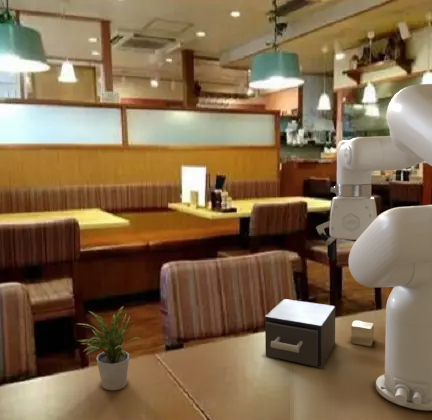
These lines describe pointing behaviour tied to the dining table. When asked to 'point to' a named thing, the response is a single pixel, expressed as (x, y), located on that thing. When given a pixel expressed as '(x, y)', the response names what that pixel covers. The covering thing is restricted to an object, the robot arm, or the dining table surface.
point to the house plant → (110, 352)
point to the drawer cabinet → (308, 322)
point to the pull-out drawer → (292, 342)
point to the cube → (362, 333)
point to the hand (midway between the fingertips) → (353, 261)
